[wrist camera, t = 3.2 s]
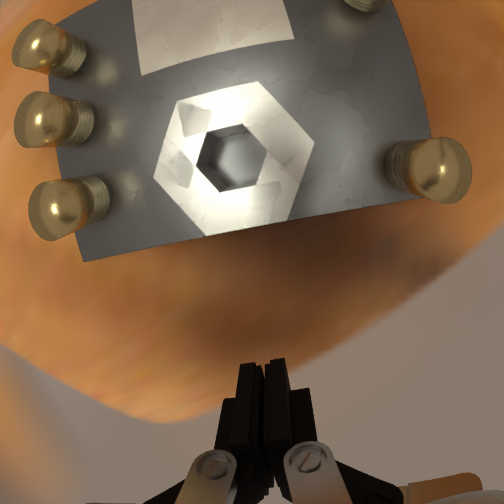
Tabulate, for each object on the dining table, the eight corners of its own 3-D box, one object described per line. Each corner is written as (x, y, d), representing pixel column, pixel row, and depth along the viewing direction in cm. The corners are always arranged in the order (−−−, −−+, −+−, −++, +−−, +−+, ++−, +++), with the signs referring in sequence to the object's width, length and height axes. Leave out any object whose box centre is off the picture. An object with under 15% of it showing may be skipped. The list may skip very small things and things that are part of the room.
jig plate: (53, 31, 11) (11, 13, 7) (364, -46, 9) (383, -85, 5) (89, 258, 15) (45, 286, 11) (432, 194, 13) (480, 207, 9)
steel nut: (162, 120, 12) (140, 112, 10) (293, 90, 11) (299, 74, 9) (186, 229, 13) (169, 243, 11) (316, 203, 13) (327, 213, 10)
